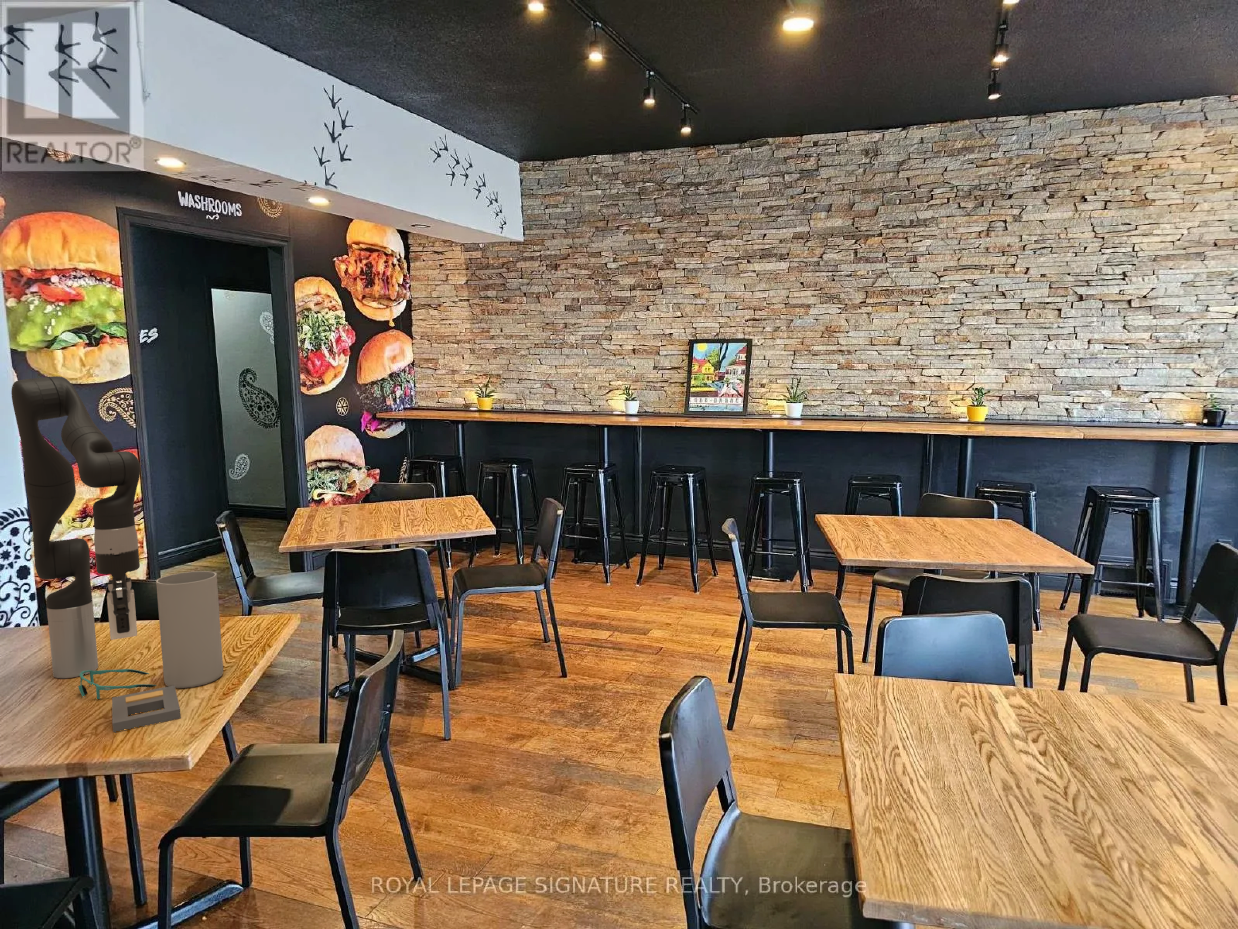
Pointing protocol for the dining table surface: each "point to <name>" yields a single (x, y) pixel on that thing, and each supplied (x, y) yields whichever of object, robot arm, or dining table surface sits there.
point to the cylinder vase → (190, 628)
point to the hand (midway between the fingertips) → (123, 629)
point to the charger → (112, 618)
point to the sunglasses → (98, 688)
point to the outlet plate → (145, 708)
